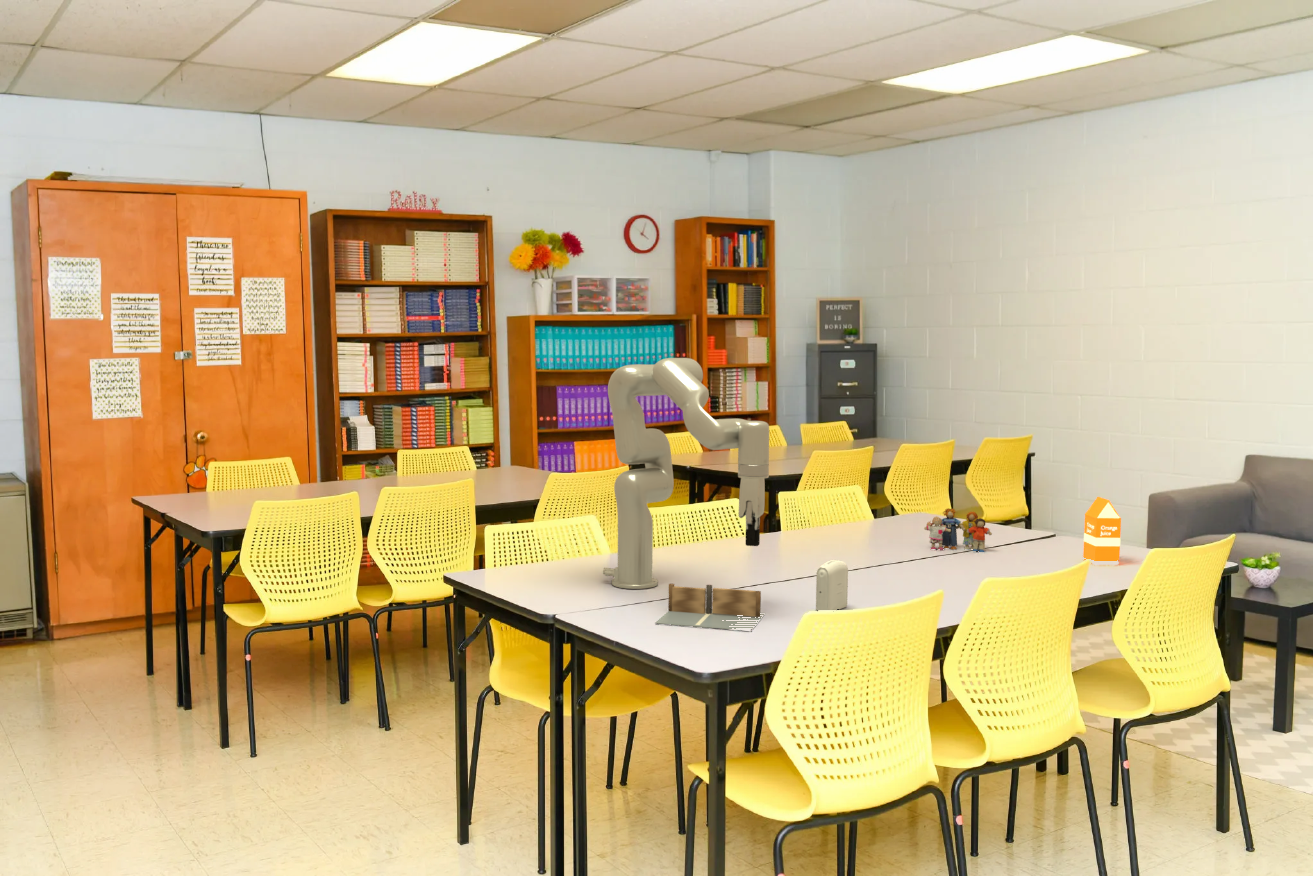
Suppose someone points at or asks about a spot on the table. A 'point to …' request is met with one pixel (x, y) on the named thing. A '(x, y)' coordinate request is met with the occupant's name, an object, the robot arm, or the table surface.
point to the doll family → (948, 534)
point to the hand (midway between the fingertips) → (752, 545)
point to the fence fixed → (690, 599)
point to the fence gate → (736, 602)
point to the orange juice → (1102, 532)
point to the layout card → (705, 620)
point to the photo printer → (832, 585)
